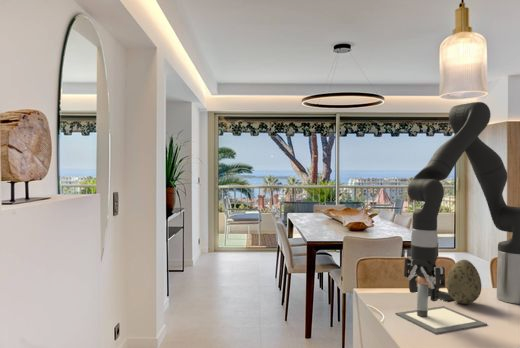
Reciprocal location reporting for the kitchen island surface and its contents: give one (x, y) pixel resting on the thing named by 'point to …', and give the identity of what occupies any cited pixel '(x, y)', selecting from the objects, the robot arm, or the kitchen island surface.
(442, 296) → the phone
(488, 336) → the kitchen island surface
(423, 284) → the marker
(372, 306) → the kitchen island surface
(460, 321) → the writing mat
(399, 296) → the kitchen island surface
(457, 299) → the decorative egg
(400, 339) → the kitchen island surface
